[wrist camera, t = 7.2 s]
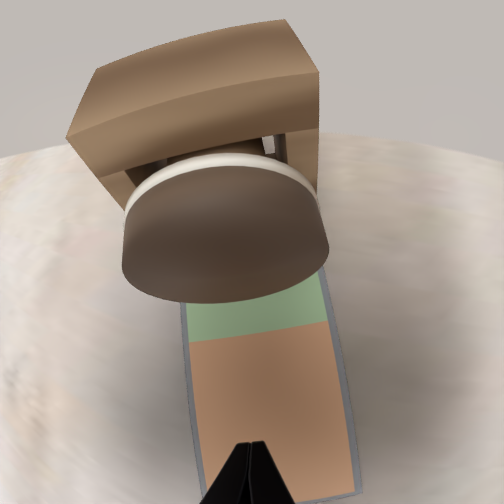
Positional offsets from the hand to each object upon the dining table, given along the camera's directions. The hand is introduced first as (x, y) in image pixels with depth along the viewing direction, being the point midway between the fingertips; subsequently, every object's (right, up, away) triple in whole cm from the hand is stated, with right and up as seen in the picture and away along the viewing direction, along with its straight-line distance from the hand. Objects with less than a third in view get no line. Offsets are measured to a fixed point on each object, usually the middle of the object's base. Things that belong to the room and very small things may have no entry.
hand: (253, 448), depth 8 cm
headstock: (0, +6, +10) cm, 12 cm away
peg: (-1, +8, +6) cm, 10 cm away
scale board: (+1, -1, +7) cm, 7 cm away
